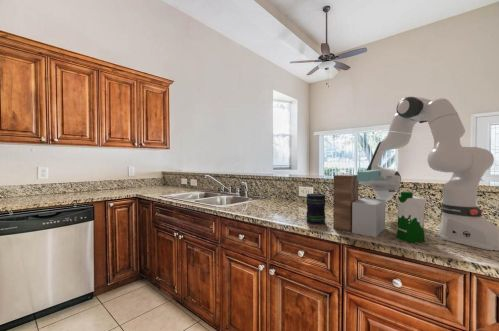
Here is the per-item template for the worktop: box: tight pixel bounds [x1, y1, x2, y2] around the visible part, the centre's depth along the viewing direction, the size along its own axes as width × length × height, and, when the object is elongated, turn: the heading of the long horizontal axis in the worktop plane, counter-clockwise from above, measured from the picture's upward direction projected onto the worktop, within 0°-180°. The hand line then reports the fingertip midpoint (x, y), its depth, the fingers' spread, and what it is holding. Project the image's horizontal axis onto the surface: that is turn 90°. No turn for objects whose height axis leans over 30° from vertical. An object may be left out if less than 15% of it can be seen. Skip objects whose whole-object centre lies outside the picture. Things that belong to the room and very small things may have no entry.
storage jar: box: [305, 192, 326, 226], centre depth 129 cm, size 10×10×15 cm
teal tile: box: [356, 170, 381, 181], centre depth 114 cm, size 26×4×4 cm, turn 140°
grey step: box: [351, 197, 387, 238], centre depth 114 cm, size 18×10×14 cm, turn 140°
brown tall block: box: [332, 173, 359, 233], centre depth 119 cm, size 12×8×26 cm, turn 140°
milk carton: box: [395, 191, 428, 244], centre depth 100 cm, size 9×9×20 cm
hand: (374, 173), depth 121 cm, fingers closed on teal tile, 4 cm apart
